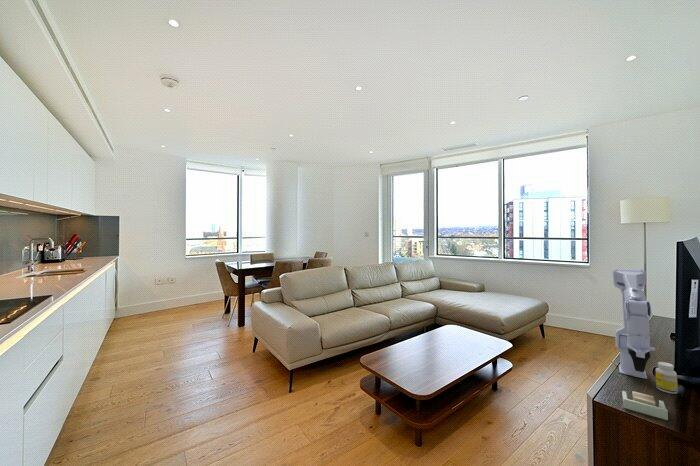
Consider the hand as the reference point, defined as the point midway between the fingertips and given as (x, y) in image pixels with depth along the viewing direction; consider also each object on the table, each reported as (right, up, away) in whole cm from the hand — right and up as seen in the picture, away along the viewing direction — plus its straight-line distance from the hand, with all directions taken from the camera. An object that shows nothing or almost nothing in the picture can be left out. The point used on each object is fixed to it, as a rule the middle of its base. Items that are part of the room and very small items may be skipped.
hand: (639, 370), depth 101 cm
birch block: (-5, -10, -7) cm, 13 cm away
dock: (-5, -9, -6) cm, 12 cm away
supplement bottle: (+14, -9, +4) cm, 17 cm away
